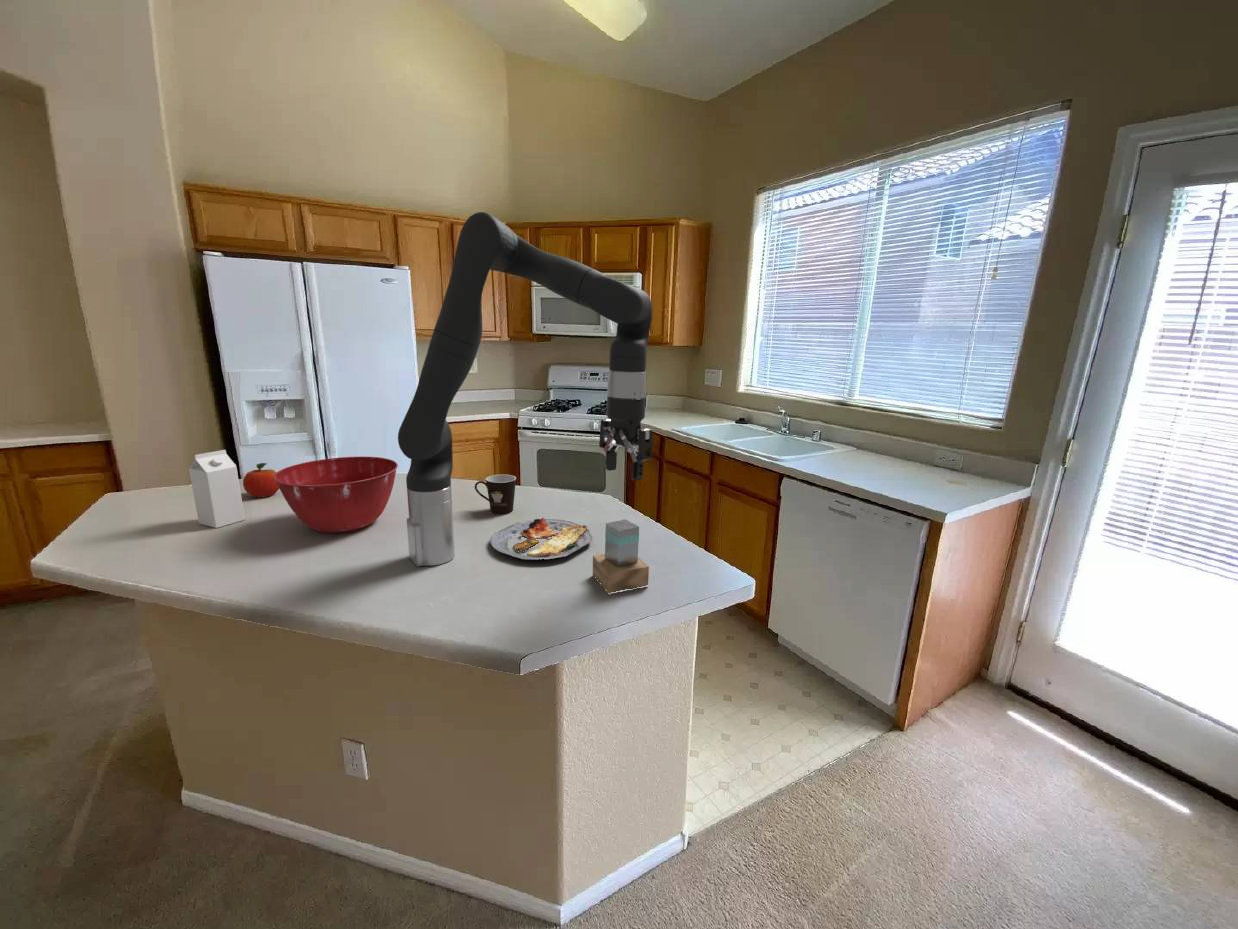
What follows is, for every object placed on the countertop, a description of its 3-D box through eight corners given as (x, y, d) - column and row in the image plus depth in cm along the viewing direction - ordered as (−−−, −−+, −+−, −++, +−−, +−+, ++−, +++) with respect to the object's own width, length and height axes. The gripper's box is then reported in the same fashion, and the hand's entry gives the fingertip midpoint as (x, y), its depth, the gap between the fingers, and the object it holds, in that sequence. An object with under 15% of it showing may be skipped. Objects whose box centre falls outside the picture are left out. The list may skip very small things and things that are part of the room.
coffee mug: (522, 510, 150) (522, 477, 147) (501, 518, 143) (500, 484, 140) (495, 502, 156) (494, 471, 153) (473, 509, 149) (472, 477, 146)
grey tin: (617, 567, 103) (619, 531, 102) (604, 558, 108) (605, 523, 106) (637, 562, 106) (639, 526, 104) (624, 553, 110) (625, 519, 108)
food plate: (538, 519, 142) (538, 507, 141) (608, 538, 131) (608, 526, 130) (471, 551, 122) (471, 538, 121) (547, 577, 110) (547, 562, 109)
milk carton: (198, 524, 131) (185, 453, 127) (228, 516, 138) (216, 448, 133) (216, 528, 129) (203, 456, 124) (245, 520, 135) (234, 451, 131)
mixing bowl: (292, 555, 115) (283, 490, 112) (272, 520, 136) (264, 464, 132) (417, 528, 134) (413, 472, 130) (383, 500, 154) (378, 451, 150)
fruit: (238, 501, 150) (233, 468, 147) (253, 491, 159) (249, 460, 156) (274, 499, 152) (269, 467, 149) (287, 490, 161) (283, 460, 158)
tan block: (608, 596, 102) (609, 573, 101) (592, 576, 110) (592, 555, 109) (647, 588, 106) (648, 566, 104) (629, 570, 114) (630, 549, 112)
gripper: (590, 391, 101) (588, 469, 105) (634, 399, 90) (630, 486, 94) (619, 390, 106) (617, 465, 110) (665, 397, 95) (660, 480, 99)
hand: (623, 474), depth 102 cm, fingers open, 8 cm apart
